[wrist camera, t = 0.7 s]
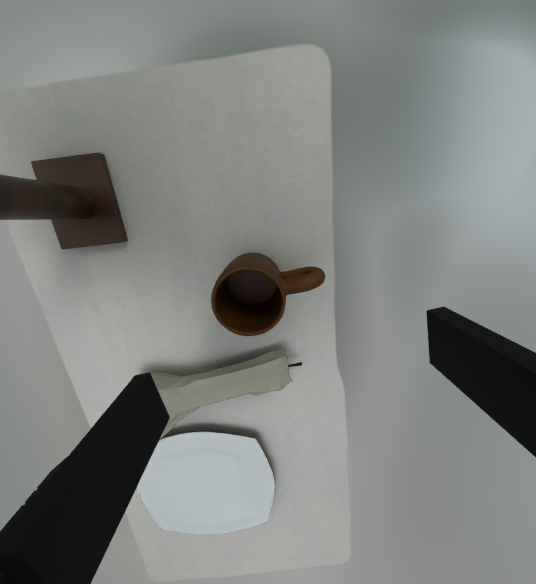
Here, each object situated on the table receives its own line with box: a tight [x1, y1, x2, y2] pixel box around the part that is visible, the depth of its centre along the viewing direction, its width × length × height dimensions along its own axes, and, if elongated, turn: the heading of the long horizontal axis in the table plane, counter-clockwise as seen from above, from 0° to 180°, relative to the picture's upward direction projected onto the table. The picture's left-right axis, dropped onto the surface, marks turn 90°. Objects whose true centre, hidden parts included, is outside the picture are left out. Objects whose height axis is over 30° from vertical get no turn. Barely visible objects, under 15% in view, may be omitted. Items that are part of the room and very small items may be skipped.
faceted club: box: [139, 349, 302, 439], centre depth 34 cm, size 9×8×25 cm
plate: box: [137, 431, 275, 535], centre depth 42 cm, size 23×23×2 cm
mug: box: [211, 253, 325, 336], centre depth 29 cm, size 12×8×9 cm, turn 107°
